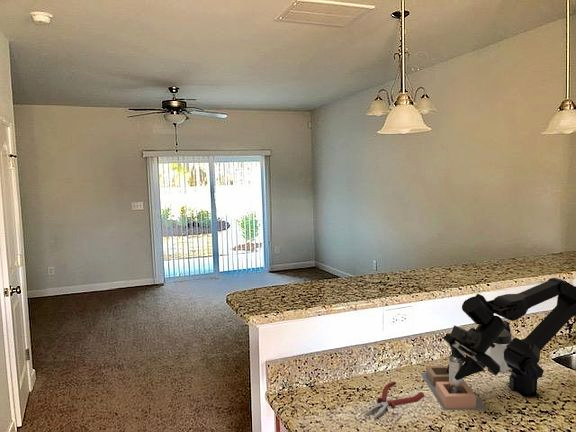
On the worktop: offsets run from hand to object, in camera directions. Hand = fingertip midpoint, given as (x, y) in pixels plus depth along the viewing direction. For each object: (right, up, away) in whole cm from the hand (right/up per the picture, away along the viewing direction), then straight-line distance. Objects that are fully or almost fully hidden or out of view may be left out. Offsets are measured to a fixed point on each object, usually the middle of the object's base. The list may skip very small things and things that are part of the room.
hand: (451, 375), depth 124 cm
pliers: (-17, -9, +3) cm, 20 cm away
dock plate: (+3, -8, +7) cm, 11 cm away
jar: (+24, -6, +24) cm, 34 cm away
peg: (+1, -6, +1) cm, 6 cm away
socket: (+1, -7, +1) cm, 8 cm away
